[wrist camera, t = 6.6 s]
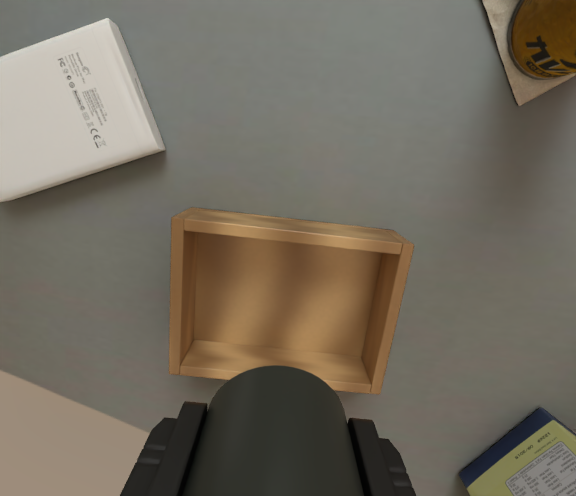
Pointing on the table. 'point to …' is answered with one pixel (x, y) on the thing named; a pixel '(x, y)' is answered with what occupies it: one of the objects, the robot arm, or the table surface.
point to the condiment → (534, 43)
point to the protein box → (527, 461)
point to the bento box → (284, 297)
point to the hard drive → (71, 110)
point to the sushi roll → (274, 439)
